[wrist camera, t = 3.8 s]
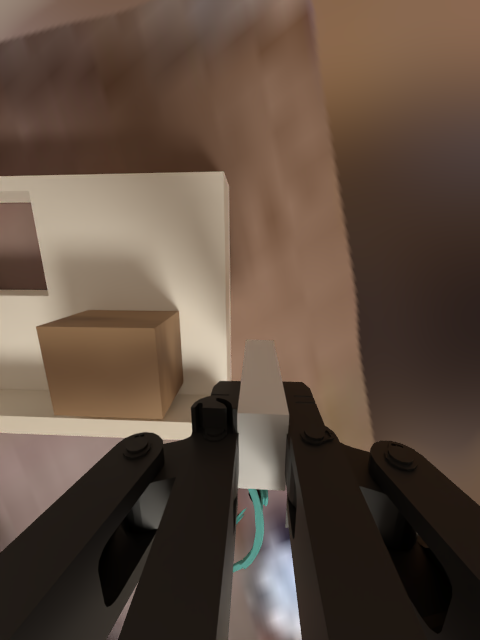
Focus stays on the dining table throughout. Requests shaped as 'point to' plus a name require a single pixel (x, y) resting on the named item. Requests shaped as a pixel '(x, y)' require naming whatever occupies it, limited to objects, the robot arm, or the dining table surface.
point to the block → (113, 363)
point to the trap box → (120, 285)
